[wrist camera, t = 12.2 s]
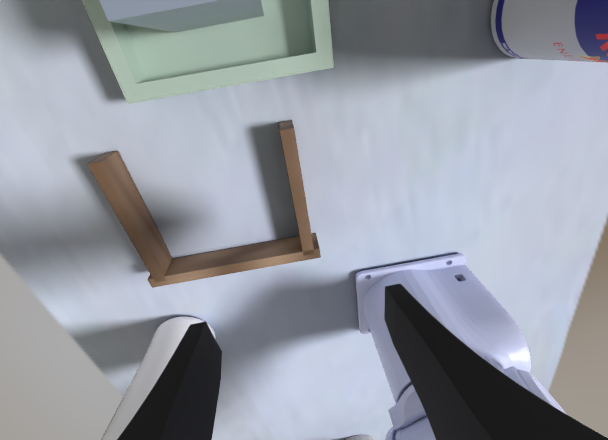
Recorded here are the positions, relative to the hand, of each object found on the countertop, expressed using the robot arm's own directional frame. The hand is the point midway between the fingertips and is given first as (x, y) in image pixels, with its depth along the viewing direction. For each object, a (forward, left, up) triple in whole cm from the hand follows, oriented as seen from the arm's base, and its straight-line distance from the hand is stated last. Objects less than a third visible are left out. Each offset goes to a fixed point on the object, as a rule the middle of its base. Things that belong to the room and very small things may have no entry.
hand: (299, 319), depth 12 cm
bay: (+5, -1, -10) cm, 11 cm away
